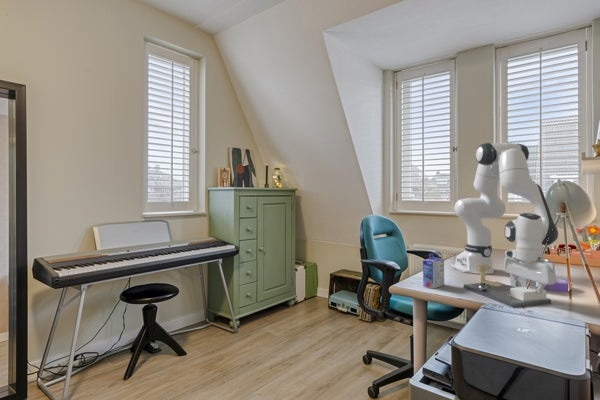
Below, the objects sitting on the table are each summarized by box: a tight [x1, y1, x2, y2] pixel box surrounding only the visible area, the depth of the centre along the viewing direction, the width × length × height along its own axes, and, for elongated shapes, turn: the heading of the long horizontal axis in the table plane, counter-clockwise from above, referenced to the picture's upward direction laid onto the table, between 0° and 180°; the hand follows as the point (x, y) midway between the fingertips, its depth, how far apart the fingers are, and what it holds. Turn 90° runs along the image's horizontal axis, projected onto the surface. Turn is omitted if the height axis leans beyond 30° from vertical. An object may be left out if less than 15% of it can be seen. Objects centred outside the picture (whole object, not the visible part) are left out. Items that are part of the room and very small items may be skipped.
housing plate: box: [463, 281, 552, 308], centre depth 143 cm, size 26×18×3 cm
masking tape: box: [544, 277, 569, 293], centre depth 153 cm, size 12×12×4 cm
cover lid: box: [510, 286, 548, 300], centre depth 136 cm, size 6×11×3 cm, turn 104°
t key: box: [476, 264, 501, 286], centre depth 142 cm, size 7×8×9 cm
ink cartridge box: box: [422, 252, 445, 289], centre depth 156 cm, size 10×6×14 cm, turn 129°
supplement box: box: [509, 274, 537, 288], centre depth 153 cm, size 7×7×13 cm
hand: (527, 289), depth 136 cm, fingers open, 8 cm apart
